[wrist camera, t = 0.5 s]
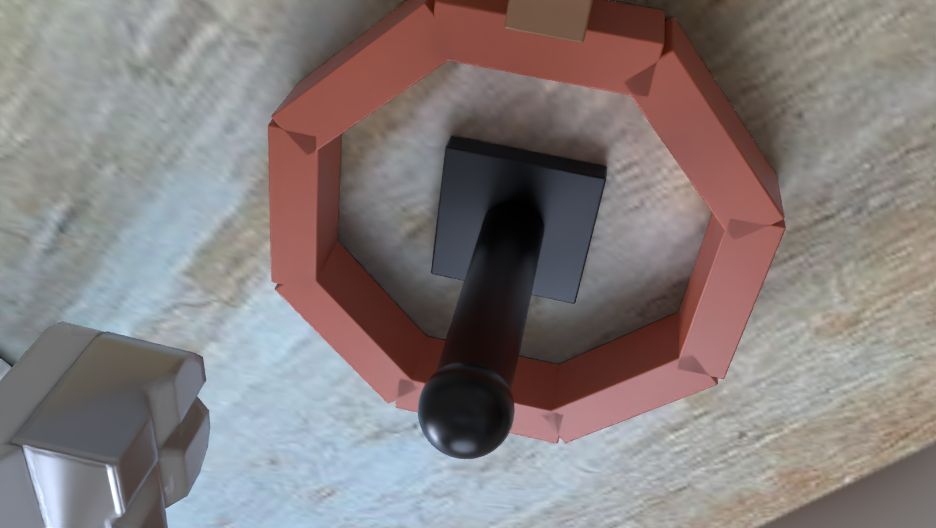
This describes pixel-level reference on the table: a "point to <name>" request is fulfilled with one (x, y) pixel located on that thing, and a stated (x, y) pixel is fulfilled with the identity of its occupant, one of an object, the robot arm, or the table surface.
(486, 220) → the peg stand
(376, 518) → the table surface
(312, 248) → the hoop
